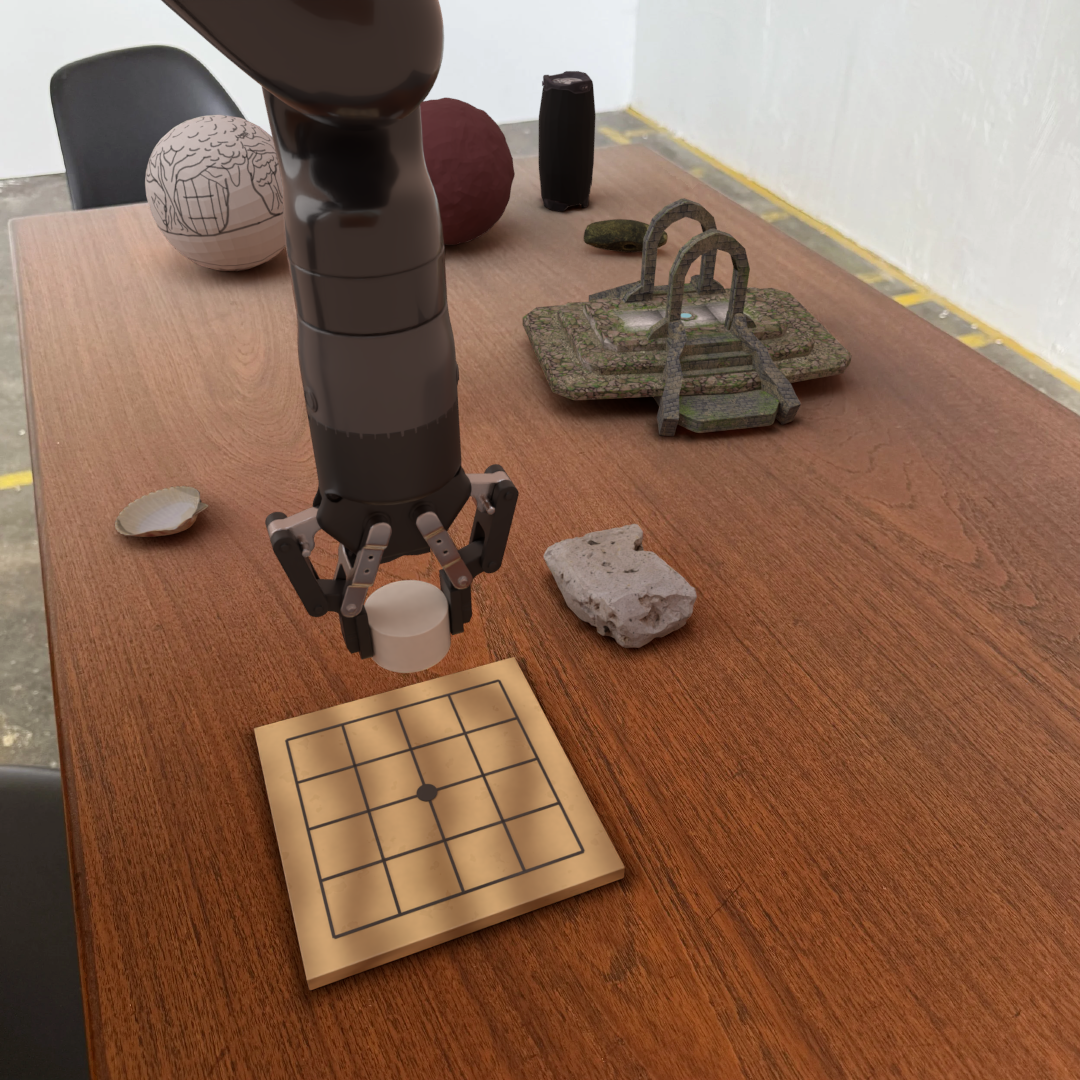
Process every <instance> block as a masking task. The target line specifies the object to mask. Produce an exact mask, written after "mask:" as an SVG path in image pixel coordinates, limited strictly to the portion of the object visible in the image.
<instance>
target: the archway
mask: <svg viewBox="0 0 1080 1080" xmlns="http://www.w3.org/2000/svg"><path fill="white" fill-rule="evenodd" d="M684 218H688V219H691V220H694V221H697V222H698V223H699V225H700V227H701V230H702V232H701V233H698V234H696V235H694V236H692V237H691V238H690V239H689V240H688V241H687V242H686V243H685V244H684V245H682V246H681V247H680V248H679V250H678V252H677V253H676V256H675V258H674V260H673V262H672V265H671V266H670V269H669V271H668V282H667V284H663V285H655V281H656V280H655V279H656V271H657V261H658V260H657V258H658V249H659V248H658V243H659V241H660V238H661V236H662V234H663V232H664V231H666V230H667V229H668V228H669V227H670V226H671V225H672V224H674V223H676V222H678V221H680V220H682V219H684ZM718 250H719V251H721V252H724V253H728V255H729V256H730V259H731V264H732V273H731V274H732V276H731V284H730V287H726V288H725V287H724V286H723V284H721V283H720V281H718V280H716V279H715V278H714V277H715V271H716V270H715V269H716V261H717V255H718ZM699 257H701V258H700V267H699V274H694V275H692V276H690V281H689V283H688V282H687V283H685V282H686V277H687V274H688V272H689V271H690V268H691V266H692V264H693V263H694V262H695V261H697V259H699ZM750 271H751V268H750V264H749V259H748V254H747V251H746V248H745V246H743V245H742V243H740V242H739V241H738V240H737V239H736V238H735V237H734V236H733V235H732V234H730V233H728V232H726V231H722V230H719V229H718V227H717V224H716V220H715V217H714V216H713V214H711V213H710V212H709V211H708V210H707V209H706V208H705V207H704V206H703V205H702V204H701V203H699V202H696V201H693V200H691V199H687V198H686V197H685V198H679V199H677V200H675V201H673V202H671V203H668V204H667V205H664V206H663V207H662V208H661V210H659V211H658V212H657V213H656V214H655V215H654V216H653V217H652V218H651V220H650V223H649V227H648V229H647V232H646V234H645V236H644V239H643V252H641V268H640V279H639V280H636V281H634V282H631V283H626V284H623V285H619V286H617V287H616V286H615V287H613V288H610V289H606V290H602V291H598V292H595V293H592V294H589V295H588V301H573V302H572V301H571V302H567V303H565V304H557V305H547V306H536V307H535V308H533V309H531V311H529V312H528V313H526V314H525V315H524V316H522V327H523V329H524V332H525V334H526V337H527V339H528V340H529V341H528V342H529V343H530V346H531V347H532V349H533V352H534V354H535V356H536V358H537V361H538V363H539V366H540V368H541V370H542V371H543V374H544V377H545V378H546V379H545V380H546V381H547V383H548V386H549V388H550V390H551V392H552V393H553V394H556V395H559V396H561V397H565V398H567V399H570V400H572V401H589V400H609V399H611V400H613V399H631V398H653V399H654V401H655V402H656V404H657V405H658V411H657V415H656V421H657V427H658V435H659V436H665V437H675V434H676V430H677V427H678V426H680V427H682V428H684V429H686V430H689V431H691V432H694V433H696V434H703V433H704V434H705V433H714V432H722V431H731V430H741V429H750V428H760V427H768V426H772V425H773V424H774V423H775V420H777V421H778V422H779V423H780V424H781V425H782V426H783V425H786V424H788V423H791V422H793V421H795V418H796V416H797V414H798V411H799V409H800V408H801V405H802V403H801V400H799V397H798V396H797V394H796V391H795V390H794V387H793V385H792V384H793V383H797V382H803V381H809V380H813V379H814V380H815V379H819V378H824V377H825V378H826V377H831V376H836V375H843V374H844V373H845V372H846V371H847V369H848V368H849V366H850V365H851V362H852V358H853V355H852V353H850V352H849V350H847V348H845V346H844V345H843V344H842V343H841V342H840V341H839V340H838V339H837V338H836V337H835V336H834V335H832V333H831V332H829V330H828V329H827V328H826V327H825V326H824V325H823V324H822V323H821V322H820V321H819V320H818V319H817V318H816V317H815V316H814V315H813V314H812V312H811V313H810V311H809V310H808V309H807V308H806V307H805V306H804V305H803V304H802V303H801V302H800V301H799V300H798V299H797V298H796V297H795V296H794V295H793V294H792V293H791V292H788V291H785V290H782V289H778V288H774V287H764V288H759V287H755V286H753V287H752V286H751V287H748V284H749V279H750Z"/></svg>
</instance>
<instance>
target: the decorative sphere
mask: <svg viewBox="0 0 1080 1080" xmlns="http://www.w3.org/2000/svg"><path fill="white" fill-rule="evenodd" d="M420 111H421V124H422V141H423V152H424V159H425V163H426V167H427V170H428V173H429V176H430V179H431V181H432V184H433V187H434V189H435V192H436V195H437V199H438V203H439V208H440V213H441V219H442V227H443V238H444V246H457V245H459V244H465V243H468V242H470V241H473V240H475V239H477V238H479V237H481V236H483V235H484V234H486V233H488V232H489V231H490V230H491V229H492V228H493V227H494V226H495V225H496V223H498V222H499V221H500V219H501V218H502V216H503V215H504V213H505V212H506V208H507V207H508V204H509V202H510V199H511V192H512V185H513V182H514V178H515V176H516V175H515V174H516V173H515V169H514V158H513V155H512V153H511V150H510V147H509V144H508V142H507V138H506V135H505V134H504V133H503V131H502V129H501V127H500V126H499V124H498V123H497V122H496V121H495V120H494V119H493V118H492V116H490V115H489V114H488V113H487V112H486V111H485V110H483V109H481V108H477V107H476V106H474V105H473V104H470V103H469V102H466V101H463V100H460V99H458V98H457V99H456V98H453V97H442V98H438V99H437V98H436V99H428V100H424V101H423V102H422V103H421V104H420Z"/></svg>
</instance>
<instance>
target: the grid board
mask: <svg viewBox="0 0 1080 1080" xmlns="http://www.w3.org/2000/svg"><path fill="white" fill-rule="evenodd" d="M523 672H524V671H522V669H521V666H520V665H519V663H518V660H517V659H516V657H515V656H512V657H508V658H505V659H502V660H498V661H494V662H491V663H487V664H484V665H479V666H476V667H472V668H469V669H465V670H461V671H458V672H453V673H450V674H445V675H442V676H440V677H439V676H438V677H436V678H431V679H428V680H425V681H421V682H418V683H414V684H410V685H407V686H403V687H399V688H395V689H392V690H389V691H385V692H381V693H376V694H374V695H370V696H366V697H363V698H359V699H356V700H352V701H349V702H345V703H341V704H338V705H334V706H330V707H327V708H323V709H320V710H316V711H311V712H309V713H305V714H301V715H297V716H294V717H290V718H287V719H283V720H280V721H276V722H272V723H269V724H265V725H261V726H257V727H254V728H253V732H254V736H255V741H256V747H257V751H258V756H259V760H260V765H261V770H262V775H263V779H264V784H265V789H266V793H267V799H268V803H269V808H270V812H271V813H270V814H271V818H272V823H273V827H274V832H275V836H276V837H275V838H276V841H277V846H278V851H279V856H280V861H281V865H282V870H283V874H284V879H285V885H286V888H287V893H288V898H289V902H290V909H291V913H292V917H293V922H294V927H295V932H296V936H297V942H298V946H299V950H300V951H299V952H300V955H301V960H302V965H303V970H304V974H305V975H304V976H305V979H306V982H307V986H308V990H309V991H313V990H315V989H318V988H321V987H324V986H327V985H329V984H332V983H336V982H338V981H341V980H343V979H346V978H349V977H352V976H354V975H358V974H360V973H364V972H366V971H368V970H372V969H374V968H377V967H380V966H383V965H385V964H389V963H390V962H393V961H396V960H399V959H402V958H405V957H407V956H410V955H413V954H417V953H420V952H422V951H424V950H427V949H430V948H432V947H436V946H438V945H441V944H444V943H446V942H449V941H453V940H455V939H457V938H460V937H463V936H466V935H469V934H473V933H474V932H477V931H480V930H483V929H485V928H488V927H491V926H494V925H497V924H500V923H502V922H505V921H507V920H510V919H513V918H516V917H519V916H522V915H525V914H528V913H530V912H533V911H536V910H538V909H541V908H545V907H548V906H550V905H553V904H555V903H558V902H561V901H564V900H566V899H569V898H572V897H574V896H577V895H580V894H583V893H586V892H589V891H591V890H594V889H597V888H599V887H602V886H606V885H609V884H611V883H613V882H617V881H619V880H622V879H625V871H626V870H625V869H626V866H625V864H624V863H623V861H622V859H621V857H620V855H619V853H618V851H617V849H616V848H615V847H616V846H615V845H614V843H613V842H612V839H611V838H610V836H609V835H608V832H607V830H606V829H605V827H604V825H603V823H602V820H601V819H600V817H599V815H598V813H597V811H596V809H595V807H594V806H593V804H592V801H591V800H590V798H589V796H588V794H587V792H586V790H585V789H584V786H583V785H582V782H581V781H580V779H579V777H578V775H577V773H576V771H575V769H574V767H573V766H572V763H571V762H570V759H569V758H568V755H567V754H566V752H565V750H564V748H563V747H562V745H561V743H560V741H559V739H558V737H557V735H556V733H555V731H554V729H553V728H552V725H551V724H550V722H549V720H548V718H547V716H546V714H545V713H544V710H543V709H542V706H541V705H540V703H539V701H538V699H537V697H536V695H535V693H534V691H533V690H532V687H531V685H530V684H529V682H528V680H527V678H526V676H525V674H524V673H523Z"/></svg>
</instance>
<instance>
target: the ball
mask: <svg viewBox="0 0 1080 1080" xmlns="http://www.w3.org/2000/svg"><path fill="white" fill-rule="evenodd" d="M144 187H145V195H146V200H147V203H148V207H149V210H150V214H151V216H152V219H153V221H154V223H155V224H156V226H157V228H158V230H159V231H160V232H161V233H162V235H163V237H164V238H165V239H166V240H167V241H168V243H169V244H170V245H171V246H172V247H173V248H174V249H175V250H176V251H177V252H178V253H179V254H180V255H182V256H183V257H185V258H186V259H188V260H190V261H191V262H192V263H195V264H196V265H198V266H201V267H204V268H208V269H212V270H215V271H224V272H225V271H226V272H227V271H228V272H234V271H235V272H238V271H245V270H249V269H253V268H255V267H258V266H260V265H263V264H266V263H268V262H270V261H271V260H272V259H274V258H275V257H276V256H278V255H279V254H280V253H281V252H283V250H284V249H286V244H285V236H284V219H283V199H282V183H281V176H280V170H279V165H278V161H277V156H276V152H275V147H274V143H273V138H272V134H271V135H270V134H269V132H268V131H266V130H264V129H263V128H262V127H261V126H259V125H257V124H255V123H254V122H252V121H249V120H247V119H244V118H242V117H240V116H239V117H238V116H230V115H226V114H210V115H209V114H208V115H202V116H197V117H194V118H190V119H187V120H184V121H183V122H181V123H179V124H177V125H175V126H174V127H172V129H170V130H169V131H168V132H167V133H166V134H165V135H163V136H162V137H161V138H160V139H159V141H158V142H157V143H156V145H155V146H154V148H153V149H152V152H151V154H150V156H149V158H148V162H147V165H146V169H145V179H144Z"/></svg>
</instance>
